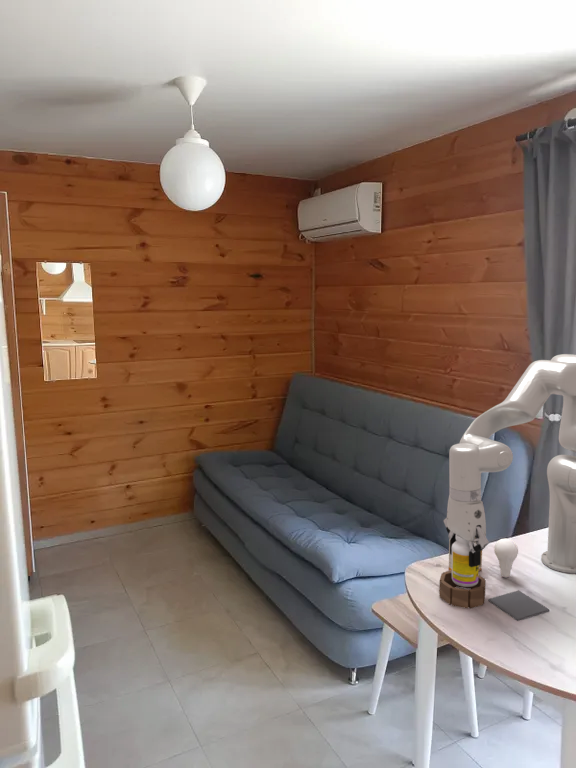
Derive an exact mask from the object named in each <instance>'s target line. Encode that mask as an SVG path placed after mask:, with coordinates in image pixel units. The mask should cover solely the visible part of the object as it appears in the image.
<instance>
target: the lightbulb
mask: <svg viewBox="0 0 576 768" xmlns="http://www.w3.org/2000/svg"><path fill="white" fill-rule="evenodd" d="M493 549H494V554H495V557H496V558H497V560H498V564H499V565H498V566H499V570H500V571H499V572H500V576H501V577H503V578H504V579H507V578H509V577H511V574H512V572H511V571H512V568H513V564H514V562H515V560H516V559H517V557H518V555H519V548H518V545H517V544H516V543H515V541H514V540H512V539H511V538H501V539H499V540H497V541H496V542H495V544H494V547H493Z"/></svg>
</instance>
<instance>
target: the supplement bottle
mask: <svg viewBox="0 0 576 768" xmlns="http://www.w3.org/2000/svg"><path fill="white" fill-rule="evenodd" d="M474 539H475V537H474ZM473 543H474V542H473ZM475 546H476V544H475V543H474V547H475ZM470 551H471V550H470V546H469V543H468V541H467V540H466V539H464V538H462V537H460V536H459V535H457V534H456V541H455V542H454V543H453V544H452V581H453V582H454V583H455V584H457V585H459V586H462V587H472V586H475V585H477V583H478V578H479V576H480V575H479V574H480V573H479V571H480V570H479V565H478V566H474V567H470V566H469V552H470Z"/></svg>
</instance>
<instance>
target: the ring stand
mask: <svg viewBox="0 0 576 768" xmlns="http://www.w3.org/2000/svg"><path fill="white" fill-rule="evenodd" d="M439 577H440V578H439V594H438V595H439V598H440V599H441V600H443V601H444V603H447V604H448V605H449V606H451V607H457V608H462V609H473V608H474V609H475V608H477V607H481V606H483V605H485V600H486V585H487V584H486V582H487V581H486V578H484V577H483V576H481V575H479V578H478V583H477V585H475V586H472V587H462V586H459V585H457V584H455V583H454V582H453V581H452V570H451V571H450V570H448V571H443V572H442V573H441V575H440V576H439Z"/></svg>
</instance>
